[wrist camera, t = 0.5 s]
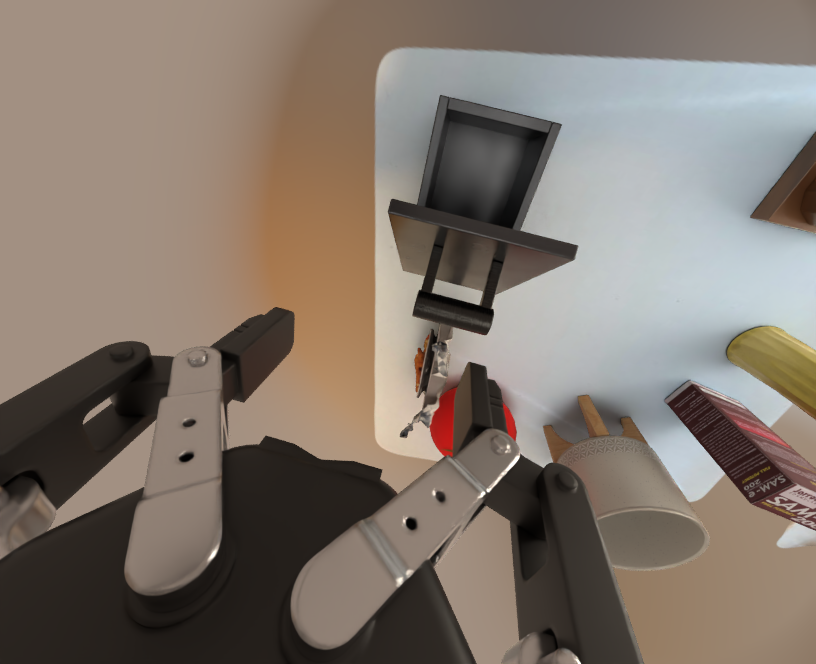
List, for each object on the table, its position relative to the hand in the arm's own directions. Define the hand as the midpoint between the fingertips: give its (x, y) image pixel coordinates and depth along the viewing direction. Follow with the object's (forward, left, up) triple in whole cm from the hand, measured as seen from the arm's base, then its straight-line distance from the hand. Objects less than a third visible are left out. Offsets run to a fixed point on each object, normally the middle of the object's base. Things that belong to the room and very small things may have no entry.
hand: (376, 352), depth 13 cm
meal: (+16, +4, -29) cm, 33 cm away
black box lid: (-2, +3, -13) cm, 13 cm away
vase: (+4, +44, -29) cm, 53 cm away
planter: (+24, +32, -29) cm, 50 cm away
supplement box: (+14, +44, -29) cm, 55 cm away
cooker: (-5, +3, -29) cm, 29 cm away
